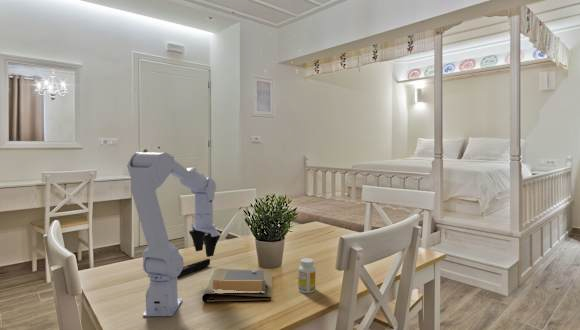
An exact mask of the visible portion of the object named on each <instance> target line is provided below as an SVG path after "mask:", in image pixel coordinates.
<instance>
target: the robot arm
mask: <svg viewBox="0 0 580 330" xmlns="http://www.w3.org/2000/svg"><path fill="white" fill-rule="evenodd" d="M126 167H127V170H128V173H129V176H130V190H131V191H130V192H131V195H132V199H133V202H134V204H135V209H136V212H137V214H138V219H139V221H140V226H141V228H142V231H143V236H144V238H145V241H146V246H147V247H146V248H145V249H144V250H143V252H142V254H141V256H142V269H143V271H144V272H145V273H146V274H147V278H149V287H148V288H147V290H146V291H145V311H144V312H143V313H142V316H143V317H172V316H173V315H174V314H175V312H176V311H177V309H179V306H180V305H181V303H182V302H183V298H178V297H179V296H178V292H179V291H178V289H179V288H178V278H177V276H179V274H180V273H181V271H182V269H183V267H184V265H185V263H184V258H183V256H182V254H181V253H180V251H179V249H178V248H177V247H176V245H174V244H172V243H171V242H170V241H169V240H170V239H169V237H168V232H167V230H166V229H167V228H166V226H165V221H164V217H163V215H162V211H161V207H160V206H161V205H160V204H159V203H160V202H159V200H158V196H157V191H156V190H157V189H158V188H160V187H161V186H162V185H163V184H164V183H165V182H166V180H167V178H168V177H169V176H170V175H171V176H174V177H176V178H178V179H179V181H180V184H182V186H184V187H186V188H188V189H190V191H191V193H192V194H193V195H194V219H195V221H194V222H191V229H192V230H189V231H188V233H189V236H190V237H191V239H192V241H193V245H194V249H195V251H196V252H200V251H203V249H205V255H206V257H208V258H209V257H213V256H215V255H214V254H215V251H216V248H217V247H216V246H217V244H218V241H219V239H220V238H221V235H220V234H219V233H218V232H219V231H218V229H217V228H216V227H217V225H216V224H214V218H213V217H214V215H213V213H214V209H213V208H214V206H213V205H214V204H213V203H214V199H215V193H216V190H217V184H216V181H215V180H214V179H213V178H212V177H207V176H205V174H203V173H200V172H199V171H198V170H197V168H196V167H188V168H186V167H184V166H183V165H182V164H181V163H180V162H178V161H177V160H176V159H175V157H174V155H171V154H170V153H168V152H142V151H137V152H135V153H133V154H132V155H131V157H130V159H129V161H128V163H127V165H126Z"/></svg>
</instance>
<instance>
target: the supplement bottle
mask: <svg viewBox="0 0 580 330" xmlns="http://www.w3.org/2000/svg"><path fill="white" fill-rule="evenodd" d="M314 265H315V263H314V259H313V258H310V257H305V258H301V259H300V266H299V267H298V280H297V281H298V285H297V286H298V288H297V289H298V291H299V292H300V293H303V294H311V293H314V292H315V291H316V267H315V266H314Z"/></svg>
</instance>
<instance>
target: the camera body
mask: <svg viewBox="0 0 580 330" xmlns="http://www.w3.org/2000/svg"><path fill="white" fill-rule="evenodd" d="M264 274H265V270H259V269H258V270H255V269H254V270H227V271H226V273H225V276H224V277H223V280H265V279H264V278H265V277H264V276H265V275H264Z"/></svg>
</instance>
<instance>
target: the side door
mask: <svg viewBox="0 0 580 330" xmlns="http://www.w3.org/2000/svg"><path fill="white" fill-rule="evenodd" d="M213 289H215V290H217V289H222V290H234V291H235V290H236V291H265V292H266V280H265V279H264V280H224V279H218V280H217V279H215V280H212V290H213Z"/></svg>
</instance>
